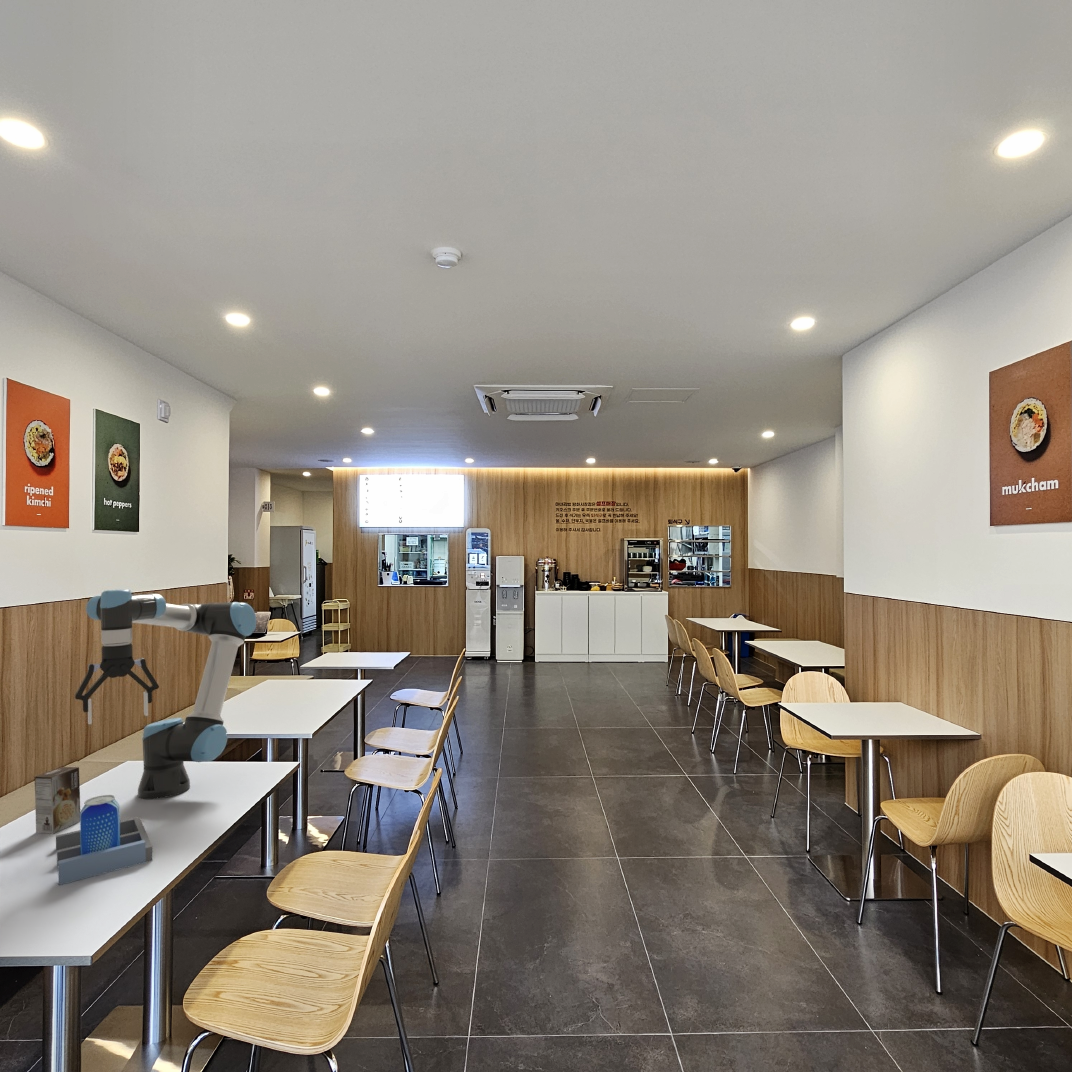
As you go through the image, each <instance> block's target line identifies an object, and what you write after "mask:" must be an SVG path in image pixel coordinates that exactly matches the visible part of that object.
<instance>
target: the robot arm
mask: <svg viewBox="0 0 1072 1072" xmlns="http://www.w3.org/2000/svg"><path fill="white" fill-rule="evenodd" d="M85 610H86V611H85V612H86V614H87V616H88V618H90V619H91V620H94V621H100V627H101V628H100V629H101V630H100V634H101V635H100V639H101V640H100V641H101V642H100V644H102V645H103V646H101V662H100V663H93V662H92V663H91V662H90V663H89V664H88V666H87V667H88V668H87V672H86V673H85V676H84V678H83V680H82V682H81V684H80V685H79V687H78V688H77V691H76V692H75V695H74V698H75V700H80V701H82V711H83V713H87V724H88V725H93V724H92V723H93V721H92V720H93V717H92V716H93V714H92V712H93V711H92V708H93V707H92V699H91V696H92V695H93V694H94V693H95V692H96V691H97V690H98V689H99V687H100V686H101V685H102V684H103V683H104V682H105V681H106V680H107V679H108V678H111V679H115V678H118V677H120V678H123V677H126V676H127V675H129V677H130V678H132V679H133V680H134V681H135V682H137V684H139V685H140V686H141V687H142V688H143V689H144V690H145V691H143V715H144V716H145V717H148V716H149V704H152V702H153V692H154V691H156V690H158V689H159V688H160V686H159V684H158V683H157V681H156V679H155V677H154V676H153V675H152V672H151V671H150V670H149V668H148V667H147V661H146V659H145V658H143V657H141V658H139V659H134V657H133V656H134V655H133V654H134V653H133V651H134V650H133V644H132V641H133V623H134V624H143V625H151V626H159V627H160V626H161V627H168V628H169V627H170V628H175V630H178V631H180V632H187V633H193V634H197V635H203V636H208V639H209V640H210V642H211V645H210V649H209V651H208V656H207V660H206V662H205V666H204V670H203V673H202V677H201V681H200V684H199V688H198V692H197V696H196V699H195V703H194V706H193V710H192V712H190V713H189V714H187V715H186V716H185V719H184V721H183V719H182V718H181V717H174V718H169V719H163V720H159V721H155V722H152V723H150V724H147V725H146V726H144V728H143V730H142V731H143V732H142V739H141V740H142V754H143V755H142V757H143V759H142V760H143V772H142V775H141V778H140V781H139V784H138V788H137V797H138V798H140V799H143V800H156V799H163V798H170V797H173V796H177V795H179V794H182V793H184V792H186V791H188V790H189V789H190V787H191V781H190V778H189V774H188V772H187V770H186V766H185V764H184V762H196V763H204V762H212V761H214V760H215V759H216V758H218V757H219V756H220V755H221V754H222V753H223V751H224V750H225V749H226V745H227V743H228V734H227V733H228V731H227V728H226V727H225V726H224V719H223V718H222V715H221V714H222V710H223V707H224V702H225V699H226V695H227V692H228V687H229V683H230V680H231V675H232V673H233V668H234V664H235V660H236V657H237V654H238V649H239V647H240V646H241V645H244V643H245V640H246V637H249V636H251V635H252V634H253V633H254V631H255V630H256V627H257V616H256V614H255V610H254V608H253V607H252V606H251V605H250V604H248V603H247V602H238V601H233V602H206V603H181V604H174V603H173V604H171V603H168V602H167V601H166V598H164V597H163V596H162V595H161V594H159V593H145V594H142V593H141V594H132V591H131V590H130V589H110V590H109V589H108V590H104V591H102V592H101V594H100V595H95V596H92V597H91V598H90V599H89V600H88V602H87V603H86V606H85ZM135 665H137V667H140V669H141V670H142V671H143V673H144V674H145V676H146V678H147V680H148V681H149V682H150V684H151V685H148V684H147V683H146V682H145V681H144V680H143V679H141V677H139V676H138V675H137V674H136V673H135V672H134V671H133V670H132V669H133V668H134V666H135ZM98 669H100V670H101V671H102V672H103V673H102V674H101V675H100V676H99V678H97V680H96V681H95V682H94V683H93V684H92V686H90V688H88V690H87V691H86V692H85V690H86V688H87V686H88V684H89V683H90V681H91V679H92V678H93V674H94V673H95V672H97V671H98ZM84 692H85V694H84Z"/></svg>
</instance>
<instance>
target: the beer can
mask: <svg viewBox="0 0 1072 1072" xmlns="http://www.w3.org/2000/svg"><path fill="white" fill-rule="evenodd" d="M83 803H84V805H83V806H82V808H81V809H80V821H79V825H80V827H79V828H80V829H79V830H80V837H81V855H84V854H88V853H92V852H96V851H101V850H105V849H109V848H113V847H117V846H120V821H121V820H120V815H121V814H120V803H119V802H118V800H116V796H115V795H113V794H104V795H103V794H102V795H97V796H94V797H90V798H89V799H87V800H85V801H84V802H83Z"/></svg>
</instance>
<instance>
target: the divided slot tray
mask: <svg viewBox="0 0 1072 1072" xmlns="http://www.w3.org/2000/svg"><path fill="white" fill-rule="evenodd" d="M55 851H56V867H57V869H58V870H57V871H58V872H57V875H58V876H57V877H58V885H59V886H61V885H64V884H69V883H72V882H76V881H80V880H83V879H87V878H91V877H95V876H98V875H99V876H100V875H103V874H105V873H109V872H114V871H119V870H122V869H125V868H128V867H133V866H137V865H140V864H144V863H148V862H151V861H153V845H152V843H151V841H150V838H149V836H148V833H147V831H146V828H145V826H144V824H143V822H142V818H141V817H140V816H136V817H131V818H127V819H123V820H120V846H117V847H113V848H109V849H105V850H101V851H96V852H92V853H88V854H84V855H81V837H80V829H79V830H75V831H70V832H66V833H61V834H57V835H55Z"/></svg>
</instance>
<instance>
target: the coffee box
mask: <svg viewBox="0 0 1072 1072" xmlns="http://www.w3.org/2000/svg"><path fill="white" fill-rule="evenodd" d="M80 789H81V787H80V766H77V767H76V766H61V767H58V768H55V769H52V770H49V771H46V772H44V773H41V774H38V775H35V776H34V800H35V801H34V805H35V806H34V807H35V809H34V810H35V833H37V834H38V833H39V834H56V833H58V832H60V831H62V830H65V829H66V828H68V827H70V826H72V825H74V824H75V825H76V824H77V823H80V812H81V791H80Z"/></svg>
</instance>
